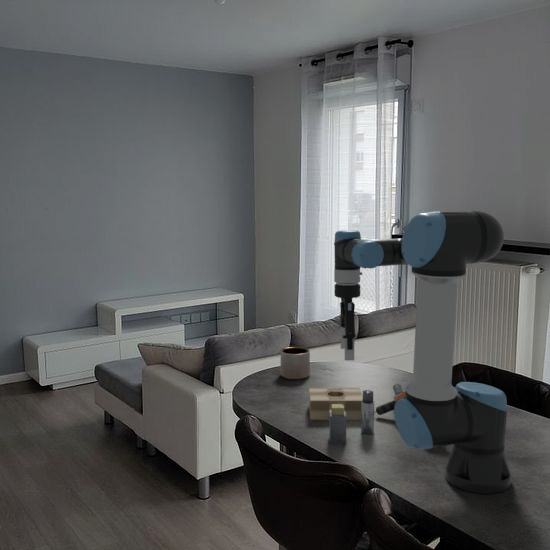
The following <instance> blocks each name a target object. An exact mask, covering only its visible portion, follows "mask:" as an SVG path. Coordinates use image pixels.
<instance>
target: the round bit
mask: <svg viewBox="0 0 550 550" xmlns="http://www.w3.org/2000/svg"><path fill="white" fill-rule="evenodd" d="M362 397H363V401H362V403H361V420H360V422H361V423H360V433H361V434H363V435H367V436H368V435H373V434H374V433H375V413H374V412H375V401H374V391H373V390H369V389H364V390H363V391H362Z"/></svg>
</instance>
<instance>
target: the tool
mask: <svg viewBox="0 0 550 550" xmlns="http://www.w3.org/2000/svg"><path fill="white" fill-rule="evenodd" d="M392 390H393V393H394V395H393V396H392V397H393V400H392V401H390V402H389V401H388V402H385V403H384V404H381V405H379V406H377V407H376V408H375V411H374V414H375V413H376V414H377V415H379V416H381V415H385V414H387V413H389V412H392V411H394V407H395V404H396V402H397V401H398V400H400V399H402V398H405V391H403V388H402V385H401V384H400V383H395V384H393V386H392Z"/></svg>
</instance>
